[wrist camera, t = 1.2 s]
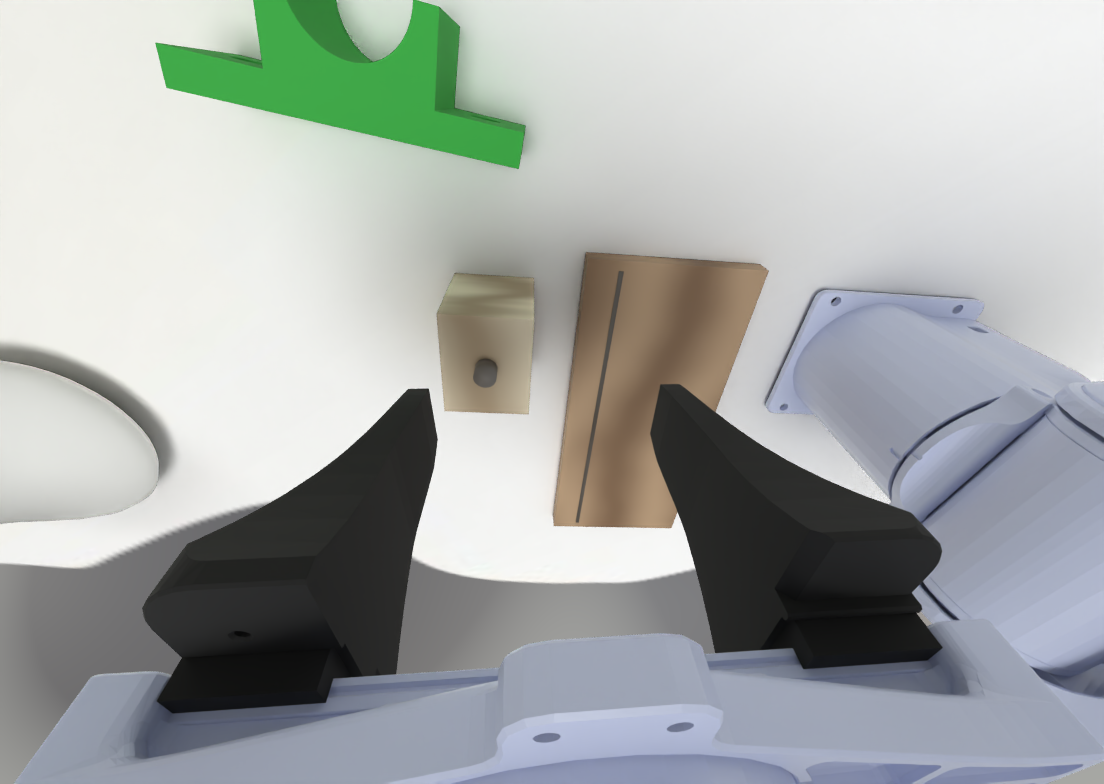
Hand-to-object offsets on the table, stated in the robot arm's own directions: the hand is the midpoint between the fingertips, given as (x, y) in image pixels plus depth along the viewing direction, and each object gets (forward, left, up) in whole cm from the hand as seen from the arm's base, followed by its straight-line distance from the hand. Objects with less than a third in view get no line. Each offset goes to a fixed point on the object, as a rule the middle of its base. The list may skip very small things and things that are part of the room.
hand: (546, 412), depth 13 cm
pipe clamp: (+6, -8, -11) cm, 15 cm away
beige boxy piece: (+2, +2, -11) cm, 11 cm away
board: (-7, +8, -11) cm, 15 cm away
